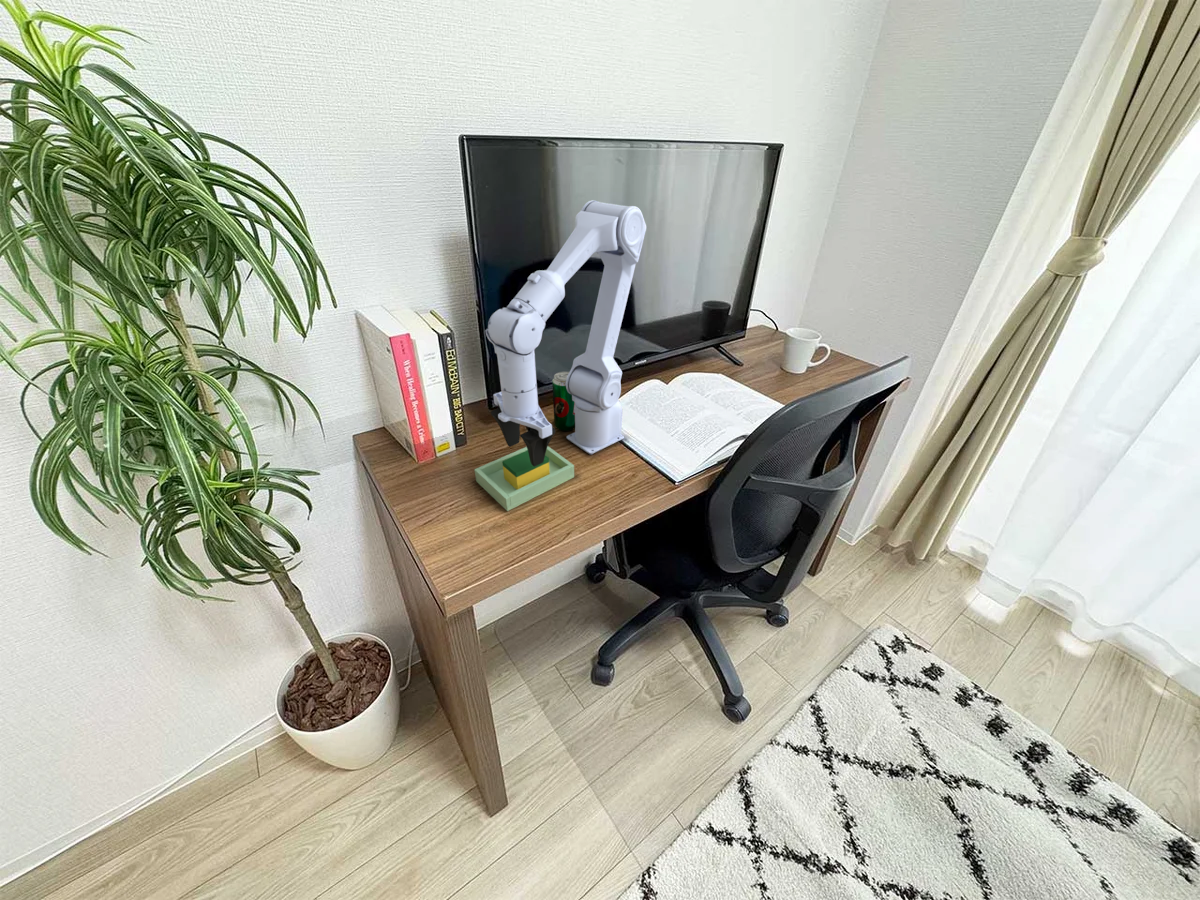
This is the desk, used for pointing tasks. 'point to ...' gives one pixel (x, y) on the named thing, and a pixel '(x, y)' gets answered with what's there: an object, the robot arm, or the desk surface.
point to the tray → (511, 498)
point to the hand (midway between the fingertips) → (525, 453)
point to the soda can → (562, 403)
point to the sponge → (524, 470)
